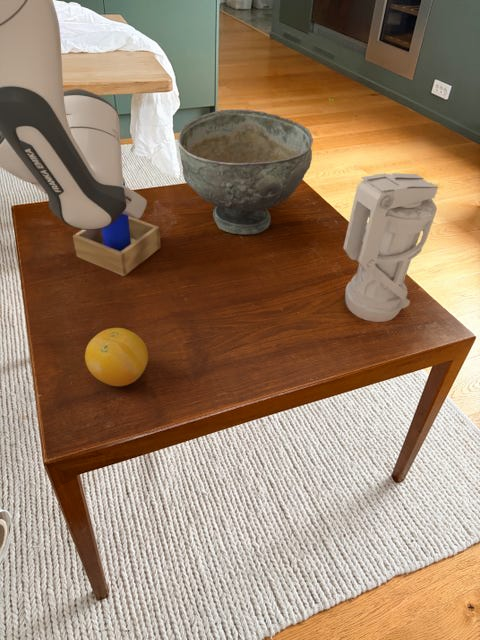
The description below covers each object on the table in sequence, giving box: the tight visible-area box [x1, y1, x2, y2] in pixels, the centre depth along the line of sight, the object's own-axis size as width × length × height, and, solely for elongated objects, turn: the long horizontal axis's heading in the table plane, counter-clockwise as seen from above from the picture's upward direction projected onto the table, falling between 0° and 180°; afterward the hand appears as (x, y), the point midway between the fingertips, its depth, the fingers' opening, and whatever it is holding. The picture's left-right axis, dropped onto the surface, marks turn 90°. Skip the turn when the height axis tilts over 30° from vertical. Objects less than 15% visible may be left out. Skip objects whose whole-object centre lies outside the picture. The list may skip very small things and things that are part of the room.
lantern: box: [343, 172, 439, 323], centre depth 81 cm, size 13×10×25 cm
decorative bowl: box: [177, 108, 314, 235], centre depth 104 cm, size 26×26×20 cm
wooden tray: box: [72, 216, 162, 277], centre depth 97 cm, size 12×12×5 cm
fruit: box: [84, 327, 149, 387], centre depth 72 cm, size 9×8×8 cm
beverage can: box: [102, 177, 131, 252], centre depth 93 cm, size 5×5×15 cm
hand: (114, 204), depth 92 cm, fingers closed on beverage can, 5 cm apart
